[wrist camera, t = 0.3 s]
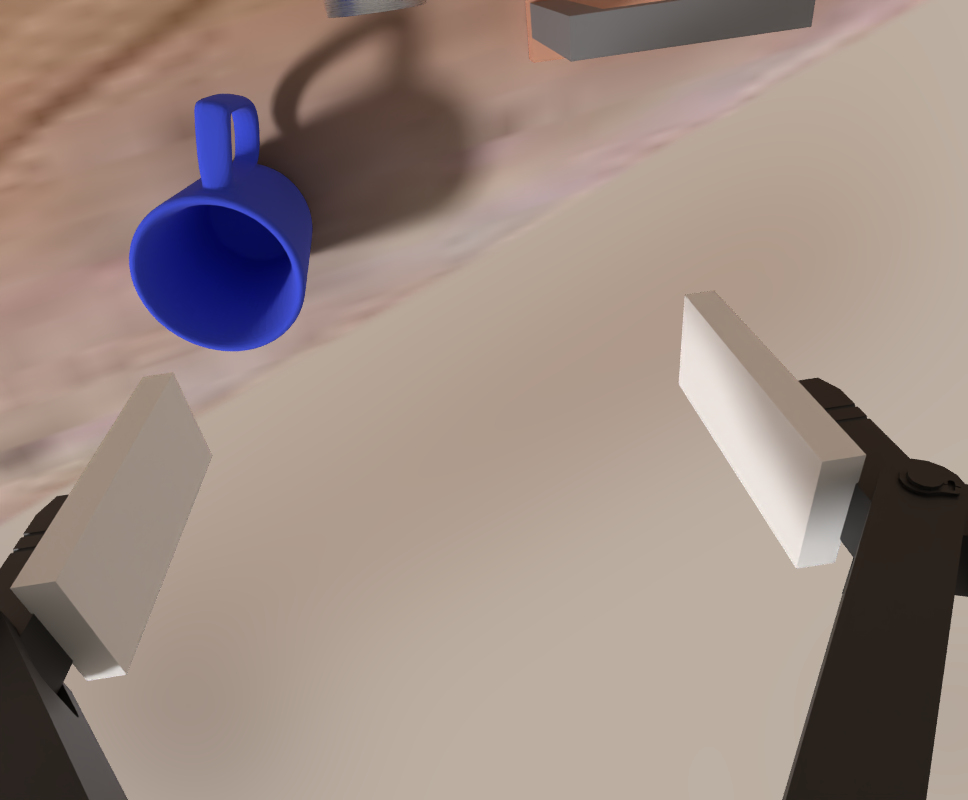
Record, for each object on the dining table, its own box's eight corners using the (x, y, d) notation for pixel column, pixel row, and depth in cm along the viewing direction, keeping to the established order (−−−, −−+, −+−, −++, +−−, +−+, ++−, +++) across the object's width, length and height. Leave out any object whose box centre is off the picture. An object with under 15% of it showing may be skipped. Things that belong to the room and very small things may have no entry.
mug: (328, 83, 36) (304, 119, 28) (324, 282, 43) (304, 358, 34) (172, 60, 35) (99, 91, 27) (193, 269, 41) (140, 346, 33)
